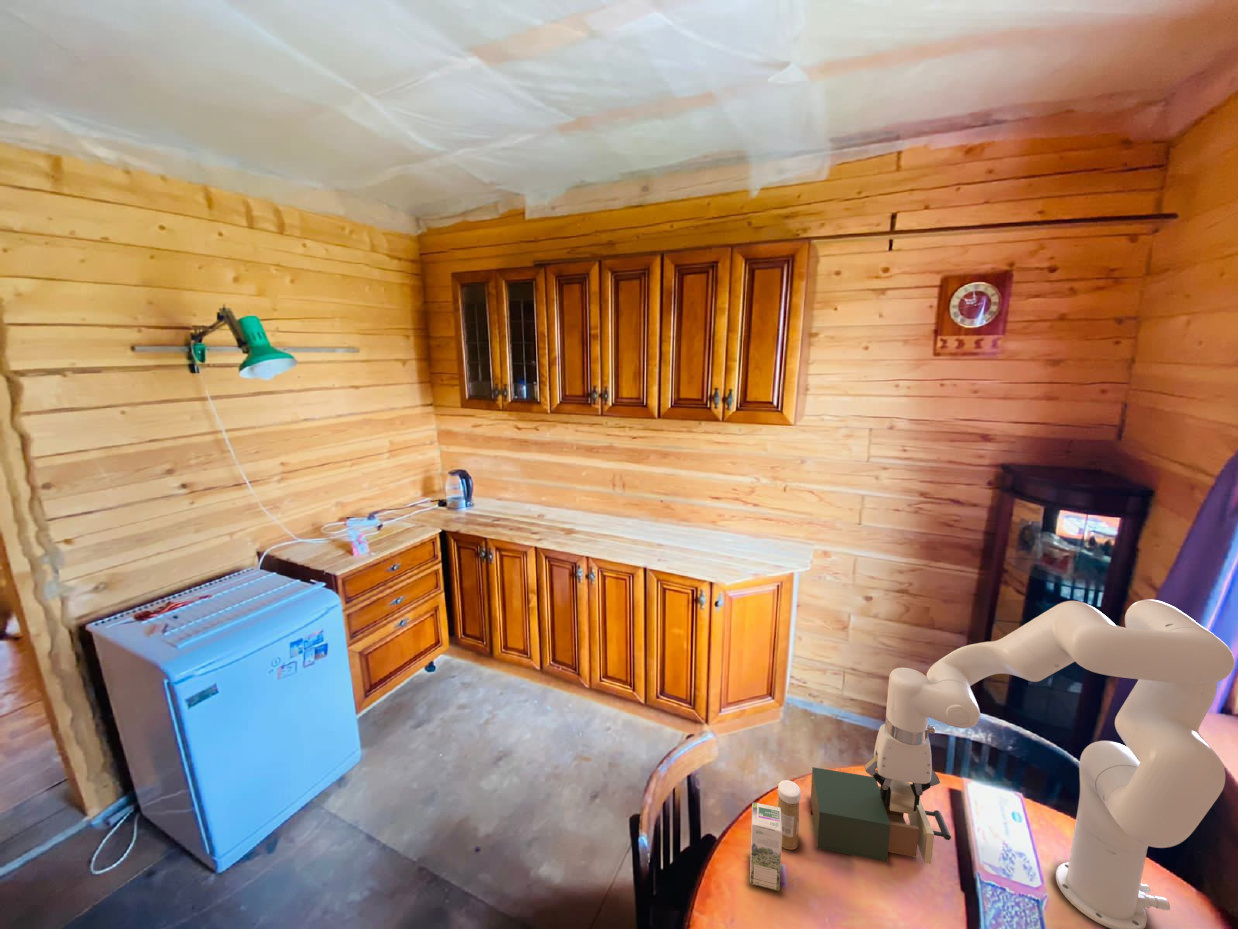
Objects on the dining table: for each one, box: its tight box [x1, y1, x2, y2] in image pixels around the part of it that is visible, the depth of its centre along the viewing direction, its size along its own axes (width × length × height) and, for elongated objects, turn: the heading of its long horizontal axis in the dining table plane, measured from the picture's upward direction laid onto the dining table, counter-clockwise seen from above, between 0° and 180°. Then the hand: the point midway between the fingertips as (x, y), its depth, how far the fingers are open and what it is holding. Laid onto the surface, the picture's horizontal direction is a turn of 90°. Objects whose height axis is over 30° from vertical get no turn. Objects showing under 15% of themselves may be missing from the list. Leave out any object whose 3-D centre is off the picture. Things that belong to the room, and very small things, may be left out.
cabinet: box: [810, 766, 890, 863], centre depth 111 cm, size 14×13×9 cm
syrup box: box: [749, 801, 783, 892], centre depth 100 cm, size 6×6×14 cm
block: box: [889, 779, 915, 815], centre depth 107 cm, size 4×4×4 cm
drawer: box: [878, 785, 952, 865], centre depth 108 cm, size 17×11×7 cm
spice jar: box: [777, 779, 802, 850], centre depth 108 cm, size 5×5×14 cm
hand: (898, 803), depth 108 cm, fingers closed on block, 4 cm apart
